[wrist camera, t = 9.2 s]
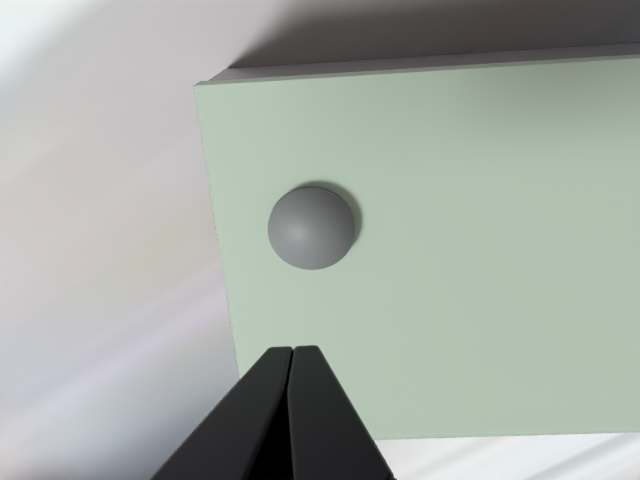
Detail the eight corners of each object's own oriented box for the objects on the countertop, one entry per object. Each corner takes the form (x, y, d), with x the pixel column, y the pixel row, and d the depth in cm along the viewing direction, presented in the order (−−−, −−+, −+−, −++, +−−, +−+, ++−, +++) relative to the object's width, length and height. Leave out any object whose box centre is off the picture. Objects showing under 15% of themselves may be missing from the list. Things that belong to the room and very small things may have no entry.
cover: (725, 411, 18) (747, 435, 17) (252, 426, 19) (248, 450, 18) (847, 41, 13) (890, 44, 12) (200, 81, 14) (190, 87, 13)
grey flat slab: (675, 364, 21) (717, 410, 18) (266, 378, 21) (258, 424, 19) (764, 34, 15) (837, 41, 13) (225, 68, 16) (208, 80, 14)
